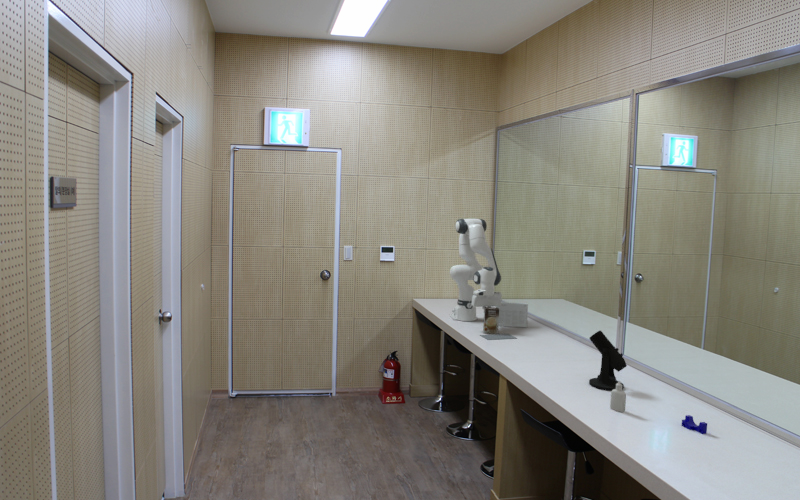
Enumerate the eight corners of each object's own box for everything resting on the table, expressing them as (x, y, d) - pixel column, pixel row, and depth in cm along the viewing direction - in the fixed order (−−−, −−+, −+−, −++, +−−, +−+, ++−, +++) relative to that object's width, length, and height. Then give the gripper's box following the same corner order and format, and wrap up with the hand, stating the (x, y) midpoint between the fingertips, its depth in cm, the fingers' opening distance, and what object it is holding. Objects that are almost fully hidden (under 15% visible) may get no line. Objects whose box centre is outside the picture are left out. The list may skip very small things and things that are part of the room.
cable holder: (681, 426, 204) (682, 415, 204) (688, 425, 205) (689, 415, 205) (698, 435, 197) (699, 424, 196) (706, 434, 198) (707, 423, 198)
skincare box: (526, 326, 368) (527, 302, 366) (527, 327, 362) (528, 304, 361) (494, 324, 370) (495, 301, 368) (495, 326, 364) (496, 302, 363)
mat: (479, 335, 336) (479, 335, 336) (508, 334, 342) (508, 333, 342) (487, 339, 326) (487, 339, 326) (517, 338, 331) (517, 338, 331)
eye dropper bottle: (618, 407, 221) (620, 378, 220) (626, 412, 216) (628, 383, 215) (608, 407, 221) (610, 379, 220) (616, 412, 215) (618, 383, 214)
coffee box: (483, 333, 342) (484, 308, 340) (483, 331, 348) (484, 306, 346) (498, 334, 341) (499, 309, 339) (497, 332, 347) (498, 307, 346)
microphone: (592, 377, 259) (596, 326, 257) (630, 386, 249) (633, 332, 246) (581, 384, 248) (584, 331, 246) (619, 394, 237) (623, 338, 235)
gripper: (499, 291, 355) (498, 311, 356) (470, 291, 349) (470, 312, 351) (504, 292, 349) (502, 313, 350) (475, 293, 343) (474, 314, 344)
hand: (486, 313), depth 350 cm, fingers closed
